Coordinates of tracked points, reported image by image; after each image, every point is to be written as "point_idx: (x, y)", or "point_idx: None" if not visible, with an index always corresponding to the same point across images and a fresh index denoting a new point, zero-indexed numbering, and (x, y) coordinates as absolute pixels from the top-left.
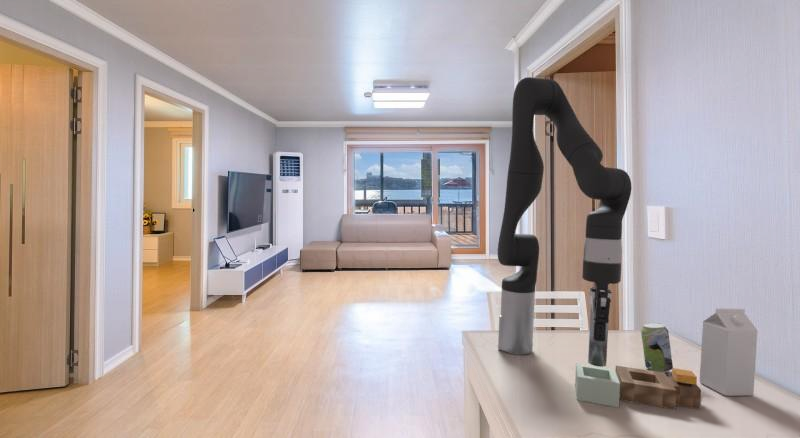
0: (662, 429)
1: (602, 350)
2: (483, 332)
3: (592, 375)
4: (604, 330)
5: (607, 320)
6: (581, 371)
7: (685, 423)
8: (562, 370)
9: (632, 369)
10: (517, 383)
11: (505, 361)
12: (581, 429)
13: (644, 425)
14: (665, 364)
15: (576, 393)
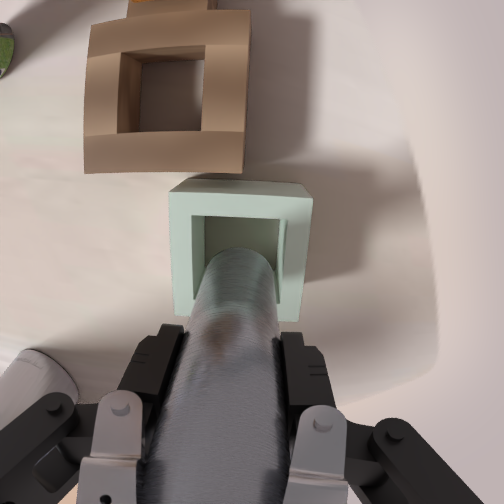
0: (390, 105)
1: (275, 303)
2: None
3: (196, 257)
4: (309, 378)
5: (416, 438)
6: None
7: (333, 34)
8: (101, 300)
9: (97, 120)
10: None
11: None
12: (429, 286)
13: (384, 143)
14: (1, 34)
15: None
